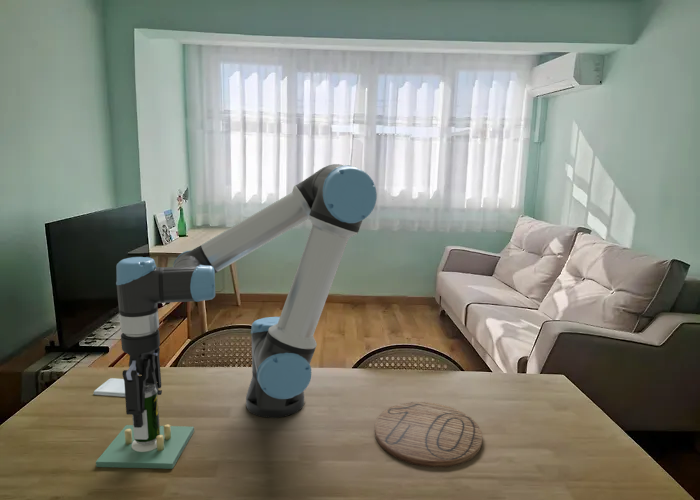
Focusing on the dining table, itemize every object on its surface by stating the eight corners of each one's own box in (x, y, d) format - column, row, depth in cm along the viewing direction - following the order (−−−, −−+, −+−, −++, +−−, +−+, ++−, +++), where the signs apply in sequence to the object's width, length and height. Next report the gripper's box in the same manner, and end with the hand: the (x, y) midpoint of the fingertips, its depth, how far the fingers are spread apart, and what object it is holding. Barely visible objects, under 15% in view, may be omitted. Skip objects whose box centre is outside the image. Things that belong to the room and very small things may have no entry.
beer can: (136, 448, 107) (132, 396, 104) (131, 436, 111) (128, 386, 109) (162, 440, 110) (159, 390, 107) (157, 429, 114) (154, 380, 111)
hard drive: (152, 380, 140) (110, 377, 142) (137, 393, 132) (93, 390, 134) (152, 385, 141) (111, 382, 142) (137, 399, 133) (93, 396, 134)
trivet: (360, 453, 111) (360, 445, 110) (390, 401, 134) (390, 395, 133) (475, 480, 102) (476, 472, 102) (486, 419, 126) (487, 413, 125)
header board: (194, 431, 118) (193, 414, 117) (172, 468, 104) (171, 450, 103) (126, 429, 118) (125, 413, 117) (96, 466, 104) (94, 448, 103)
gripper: (140, 316, 114) (147, 408, 119) (100, 347, 96) (110, 455, 101) (173, 316, 114) (178, 409, 119) (139, 348, 96) (147, 456, 101)
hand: (147, 430), depth 110 cm, fingers closed on beer can, 5 cm apart
